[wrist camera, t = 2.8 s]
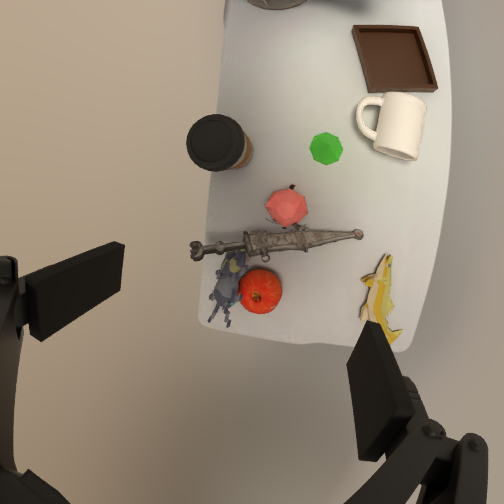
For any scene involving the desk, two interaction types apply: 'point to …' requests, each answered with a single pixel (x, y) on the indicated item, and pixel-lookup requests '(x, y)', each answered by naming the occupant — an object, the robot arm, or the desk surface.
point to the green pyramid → (326, 148)
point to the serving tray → (394, 58)
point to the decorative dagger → (274, 242)
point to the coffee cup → (218, 143)
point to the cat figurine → (287, 207)
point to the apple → (260, 291)
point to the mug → (395, 124)
